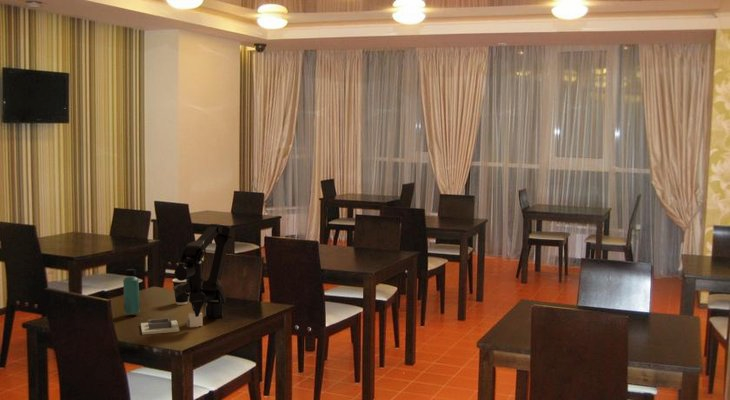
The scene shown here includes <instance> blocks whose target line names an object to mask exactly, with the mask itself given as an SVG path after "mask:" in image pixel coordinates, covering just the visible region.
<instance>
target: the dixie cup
mask: <svg viewBox="0 0 730 400" xmlns="http://www.w3.org/2000/svg"><path fill="white" fill-rule="evenodd" d="M171 281H172V284H173V285H172V286H173V287H174V286H176V285H178V284H181V283H184V282H186V280H183V281H180V280H178V279H177V278H173V279H172V280H171ZM173 293H174V297H175V303H176V305H178V306H179V305H180V306H181V305H187V304H188V302H189V297H188V296H187V295H186V292H184V293H182V294H180V295H179V296H176V294H175V291H174V290H173ZM187 293H188V292H187Z"/></svg>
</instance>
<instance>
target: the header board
mask: <svg viewBox="0 0 730 400" xmlns="http://www.w3.org/2000/svg"><path fill="white" fill-rule="evenodd" d="M147 321H148V322H141V323H140V329H141V335H142V336H143V335H153V334H163V333H176V332H180V327H179V324H178V321H177V320H175V319H174V320H171V317H165V318H152V319H147Z"/></svg>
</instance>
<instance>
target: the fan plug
mask: <svg viewBox="0 0 730 400" xmlns="http://www.w3.org/2000/svg"><path fill="white" fill-rule="evenodd" d="M203 323H204V322H203V313H202V311H200V313H199V316H198V317H196V316H195V312H194V311H193V312H188V317H187V318H186V327H187V328H198V327H199V326H201V327H203V325H204V324H203Z"/></svg>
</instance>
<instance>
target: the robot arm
mask: <svg viewBox="0 0 730 400" xmlns="http://www.w3.org/2000/svg"><path fill="white" fill-rule="evenodd" d="M235 235H236V231H235V230H234V228H233V227H232V226H231V227H230V226H225V225H222V224H220V223H210V224H209V225H208V227H207V228H206V229H205V230H204V231H203V233H201V235H200V236H199V237H198V238H197V239H196V240H194V241H191V242H189V243H188V244H186V245H185V247H184V248H183V250H182V254H181V258H180V259H179V263H178V266H177V267H176V268H175V269H174V274H173V275H174V277H175V279H178V280H180V281H183V280H186V282H184V283H181V284H178V285H176V286H174V285H173V287H172V288H173V289H172V290H173V292H174V291H175V293H174V295H175V294H176V296H179V295H180V294H182V293H184V292H186V295H187V296H188V302H189V303H190V304H191V309H192V311H193V312H195V316H196V317H198V316H199V313H200V312H202V308H203V306H204V303H206V304H205V306H204V315H205V317H206V318H207V319H221V318H224V315H223V304H225V303H226V301H227V296H226V294H225V293H224V291H223V289H224V288H223V284H222V281H221V279H222V274H223V269H224V267H225V266H224V265H225V261H226V256H227V251H228V248H229V247H230V246H231V245H232V244H233V241H234V240H235V239H234V238H235ZM212 242H214V244H215V248H214V253H213V258H212V261H211V262H212V263H211V266H210V270H209V271H210V273H209V275H208V278H207V280H203V279H204V278H203V268H202V267H203V266H202V264H204V263H205V260H203V258H204V256H206V253H207V247H209V245H210V244H211V243H212ZM187 292H188V293H187Z"/></svg>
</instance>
